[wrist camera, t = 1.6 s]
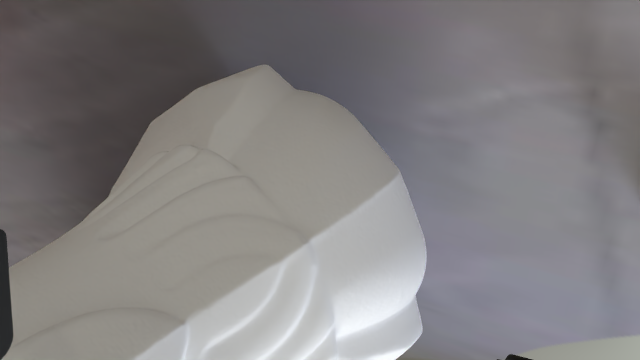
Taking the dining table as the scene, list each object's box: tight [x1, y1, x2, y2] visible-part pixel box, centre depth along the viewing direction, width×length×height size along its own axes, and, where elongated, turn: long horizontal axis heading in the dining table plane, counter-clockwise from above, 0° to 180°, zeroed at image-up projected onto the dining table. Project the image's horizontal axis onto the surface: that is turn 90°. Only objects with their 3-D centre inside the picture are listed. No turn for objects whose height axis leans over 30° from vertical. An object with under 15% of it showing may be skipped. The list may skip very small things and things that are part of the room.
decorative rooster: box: [1, 65, 426, 360], centre depth 27 cm, size 25×16×25 cm
